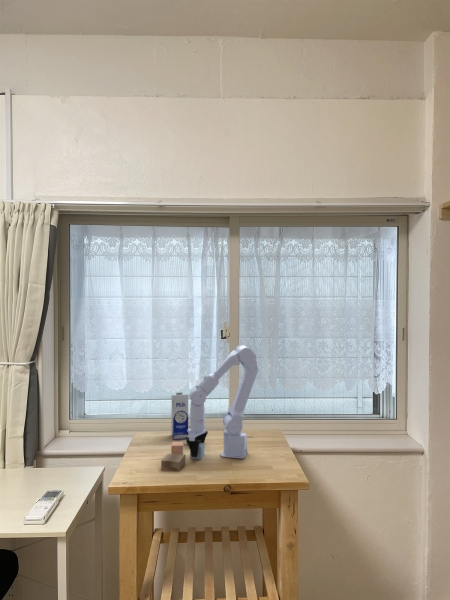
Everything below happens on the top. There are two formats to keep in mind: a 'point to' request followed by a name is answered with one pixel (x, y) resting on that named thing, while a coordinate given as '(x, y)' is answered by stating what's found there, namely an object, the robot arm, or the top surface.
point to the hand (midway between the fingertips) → (197, 453)
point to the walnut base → (173, 462)
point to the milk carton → (179, 416)
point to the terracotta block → (177, 448)
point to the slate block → (199, 452)
